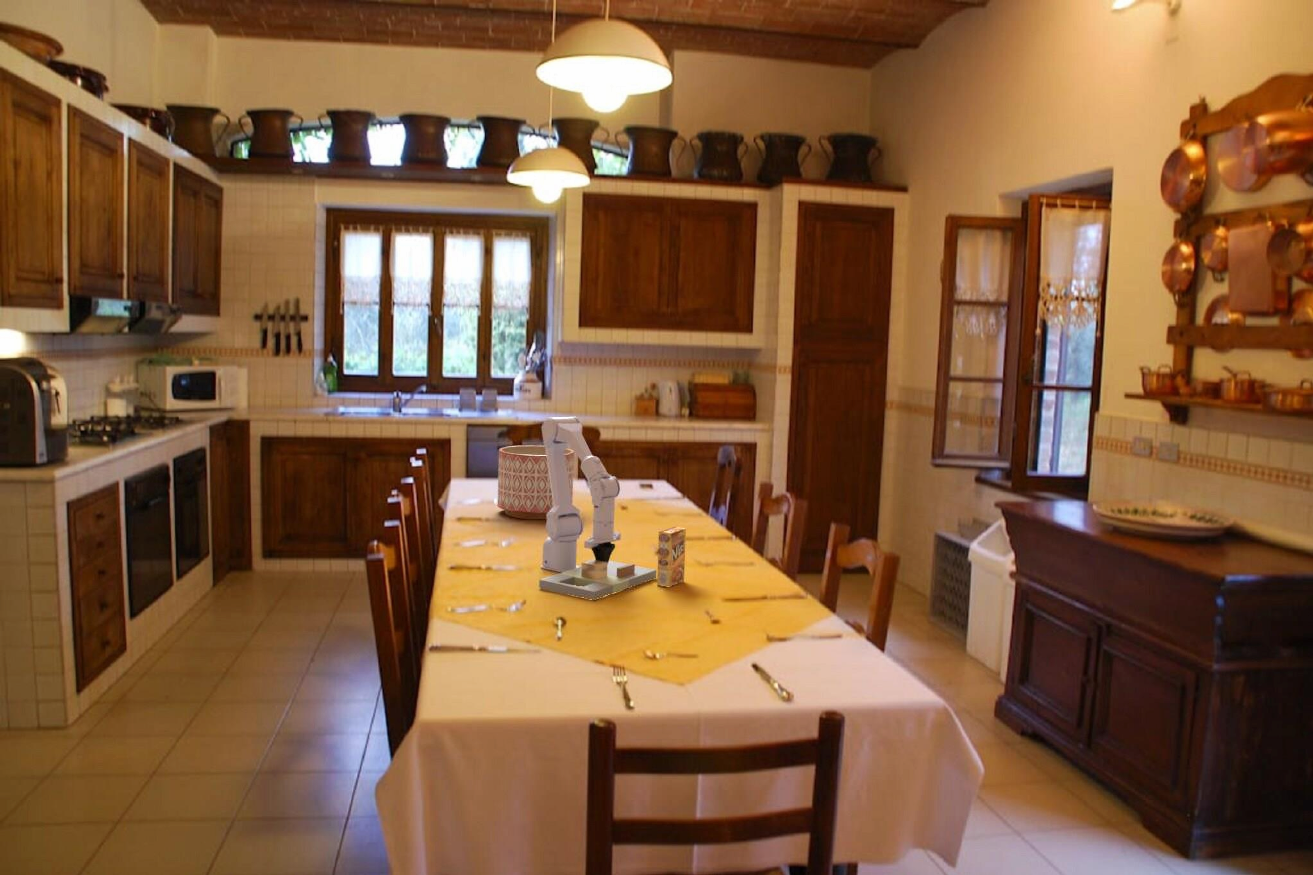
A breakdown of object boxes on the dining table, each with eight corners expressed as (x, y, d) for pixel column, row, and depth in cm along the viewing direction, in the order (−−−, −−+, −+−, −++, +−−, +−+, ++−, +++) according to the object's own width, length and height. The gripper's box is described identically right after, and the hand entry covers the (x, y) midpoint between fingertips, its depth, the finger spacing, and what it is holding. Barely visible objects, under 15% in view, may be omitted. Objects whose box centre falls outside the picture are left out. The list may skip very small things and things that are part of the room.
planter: (488, 508, 372) (490, 445, 370) (557, 505, 384) (559, 444, 381) (509, 522, 348) (511, 456, 345) (582, 519, 359) (584, 454, 357)
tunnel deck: (539, 588, 265) (539, 570, 264) (604, 567, 290) (604, 551, 289) (593, 601, 255) (594, 582, 255) (656, 578, 280) (656, 561, 280)
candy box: (669, 588, 271) (671, 533, 269) (655, 585, 273) (658, 531, 271) (684, 581, 278) (687, 528, 277) (671, 579, 280) (673, 526, 279)
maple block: (581, 577, 269) (581, 562, 268) (592, 573, 273) (592, 559, 273) (596, 580, 266) (596, 565, 266) (606, 576, 270) (607, 562, 270)
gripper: (600, 527, 263) (598, 577, 265) (630, 519, 275) (628, 567, 277) (578, 523, 267) (577, 572, 268) (609, 515, 279) (607, 562, 281)
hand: (601, 569), depth 273 cm, fingers closed
